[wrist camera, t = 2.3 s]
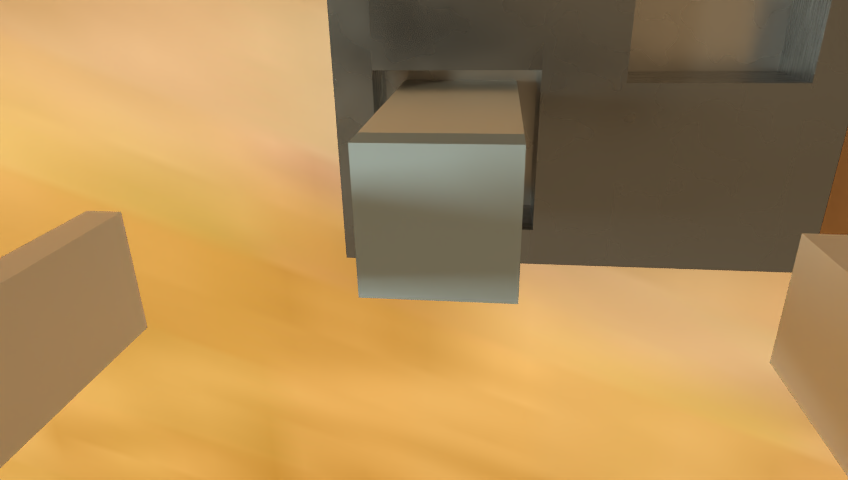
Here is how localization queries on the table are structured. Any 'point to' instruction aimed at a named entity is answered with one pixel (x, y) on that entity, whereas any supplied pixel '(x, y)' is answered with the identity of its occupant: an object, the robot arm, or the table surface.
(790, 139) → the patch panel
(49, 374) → the robot arm
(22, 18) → the table surface
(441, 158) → the plug
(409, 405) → the table surface
